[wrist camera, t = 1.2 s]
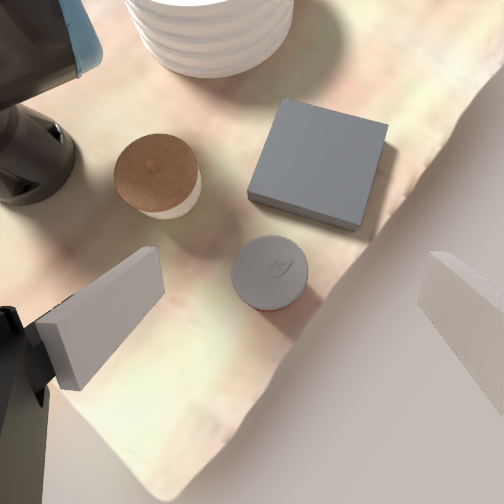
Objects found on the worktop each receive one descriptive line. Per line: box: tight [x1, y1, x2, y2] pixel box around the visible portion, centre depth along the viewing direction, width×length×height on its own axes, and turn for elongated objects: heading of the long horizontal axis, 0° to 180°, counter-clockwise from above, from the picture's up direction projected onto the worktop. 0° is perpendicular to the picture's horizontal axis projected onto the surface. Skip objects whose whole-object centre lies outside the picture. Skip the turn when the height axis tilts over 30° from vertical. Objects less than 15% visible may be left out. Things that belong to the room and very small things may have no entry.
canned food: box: [232, 235, 308, 312], centre depth 33 cm, size 8×8×11 cm
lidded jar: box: [114, 134, 201, 219], centre depth 38 cm, size 11×11×9 cm
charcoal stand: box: [247, 98, 389, 232], centre depth 41 cm, size 16×16×3 cm
